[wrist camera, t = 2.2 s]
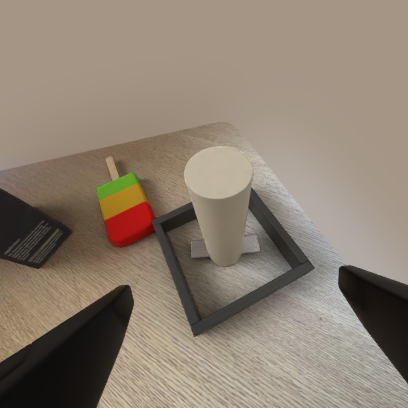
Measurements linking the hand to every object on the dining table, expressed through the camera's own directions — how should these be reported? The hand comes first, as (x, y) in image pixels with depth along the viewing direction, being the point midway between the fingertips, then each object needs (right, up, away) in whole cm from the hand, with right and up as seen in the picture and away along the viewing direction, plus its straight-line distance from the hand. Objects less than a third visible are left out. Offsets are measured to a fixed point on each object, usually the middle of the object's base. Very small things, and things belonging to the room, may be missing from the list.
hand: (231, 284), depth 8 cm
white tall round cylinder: (+1, -1, +13) cm, 13 cm away
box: (-23, -1, +17) cm, 28 cm away
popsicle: (-12, +5, +18) cm, 22 cm away
